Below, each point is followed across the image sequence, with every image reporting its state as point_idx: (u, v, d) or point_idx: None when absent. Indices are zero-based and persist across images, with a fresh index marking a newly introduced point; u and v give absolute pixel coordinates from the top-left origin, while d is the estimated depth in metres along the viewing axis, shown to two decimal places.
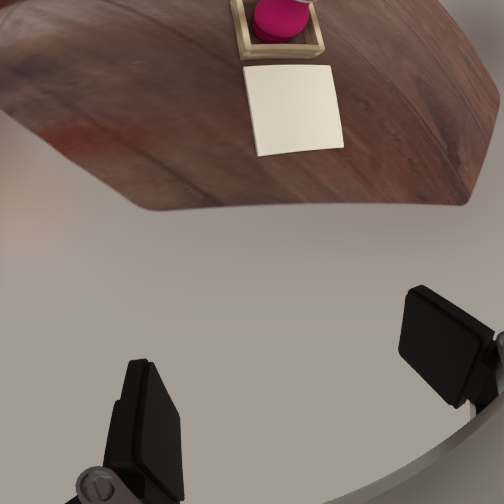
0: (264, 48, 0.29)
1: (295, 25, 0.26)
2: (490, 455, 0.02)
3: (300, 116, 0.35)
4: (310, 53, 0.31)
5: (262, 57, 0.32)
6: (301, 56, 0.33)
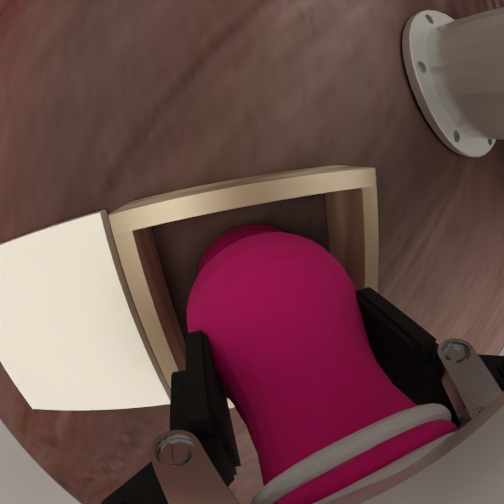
0: (128, 274, 0.10)
1: None
2: (490, 455, 0.02)
3: (34, 345, 0.13)
4: None
5: None
6: None
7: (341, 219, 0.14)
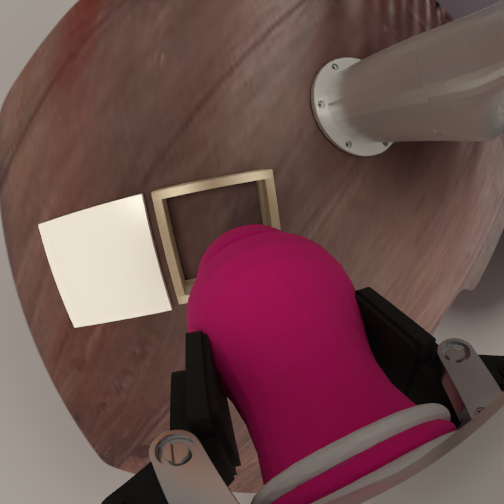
0: (158, 219, 0.24)
1: None
2: (490, 455, 0.02)
3: (90, 273, 0.27)
4: None
5: None
6: None
7: (262, 196, 0.28)
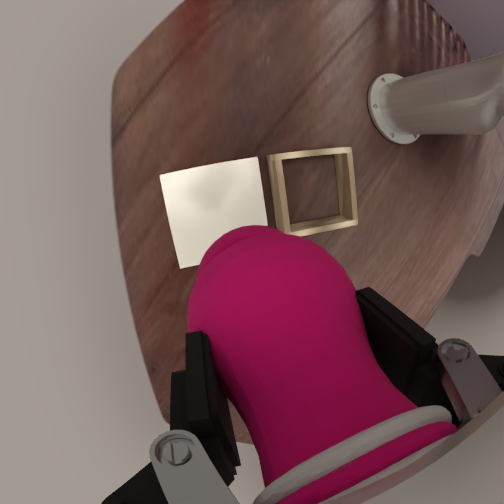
0: (277, 173, 0.34)
1: None
2: (490, 455, 0.02)
3: (206, 217, 0.37)
4: (280, 225, 0.38)
5: (270, 177, 0.38)
6: (276, 217, 0.39)
7: (340, 165, 0.38)
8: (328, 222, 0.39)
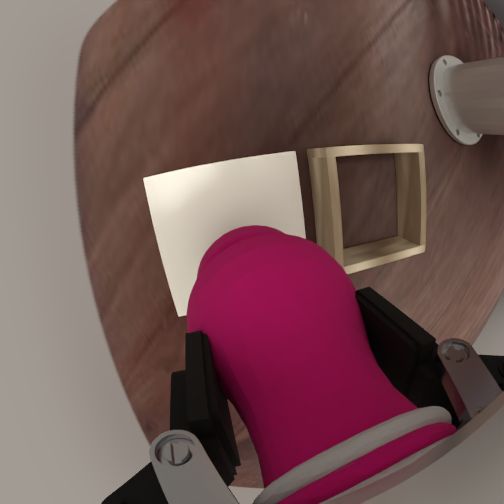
0: (330, 177, 0.21)
1: None
2: (490, 455, 0.02)
3: None
4: None
5: (312, 182, 0.25)
6: (320, 242, 0.26)
7: (406, 169, 0.25)
8: (389, 249, 0.26)
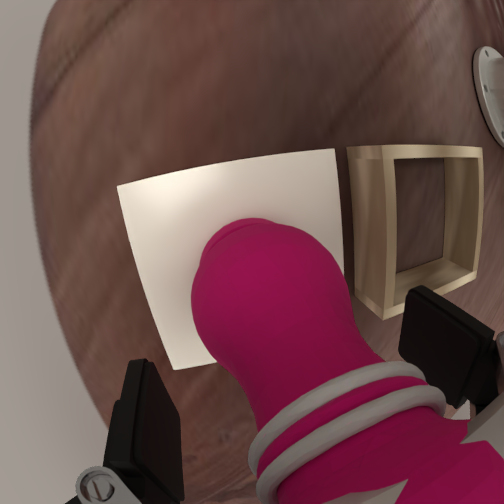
0: (386, 188, 0.14)
1: (214, 357, 0.11)
2: None
3: None
4: (371, 290, 0.18)
5: (354, 192, 0.18)
6: (360, 272, 0.19)
7: (459, 178, 0.18)
8: (440, 277, 0.19)
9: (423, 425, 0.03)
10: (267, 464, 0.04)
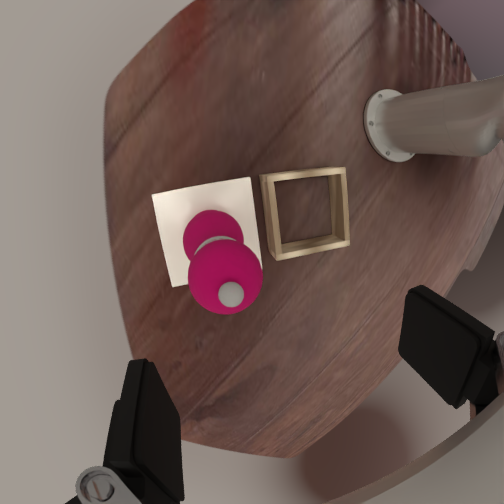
0: (270, 195, 0.35)
1: (189, 257, 0.31)
2: (490, 455, 0.02)
3: None
4: (272, 246, 0.38)
5: (262, 197, 0.38)
6: (268, 237, 0.39)
7: (334, 185, 0.38)
8: (320, 243, 0.39)
9: None
10: None
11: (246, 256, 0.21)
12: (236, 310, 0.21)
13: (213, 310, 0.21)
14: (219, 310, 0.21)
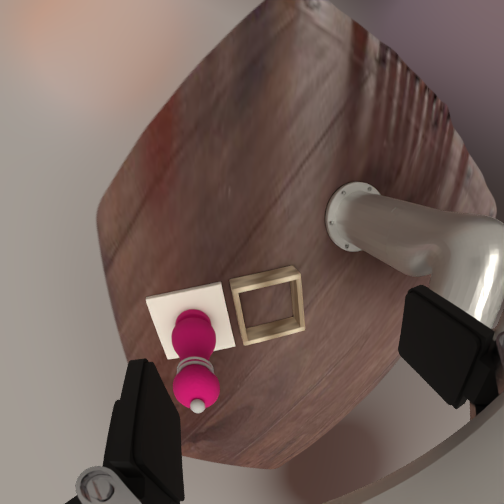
0: (235, 303, 0.44)
1: (177, 353, 0.41)
2: (490, 455, 0.02)
3: None
4: None
5: None
6: None
7: (293, 284, 0.48)
8: (280, 329, 0.49)
9: (196, 366, 0.33)
10: None
11: (206, 383, 0.31)
12: None
13: None
14: None
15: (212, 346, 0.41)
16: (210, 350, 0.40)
